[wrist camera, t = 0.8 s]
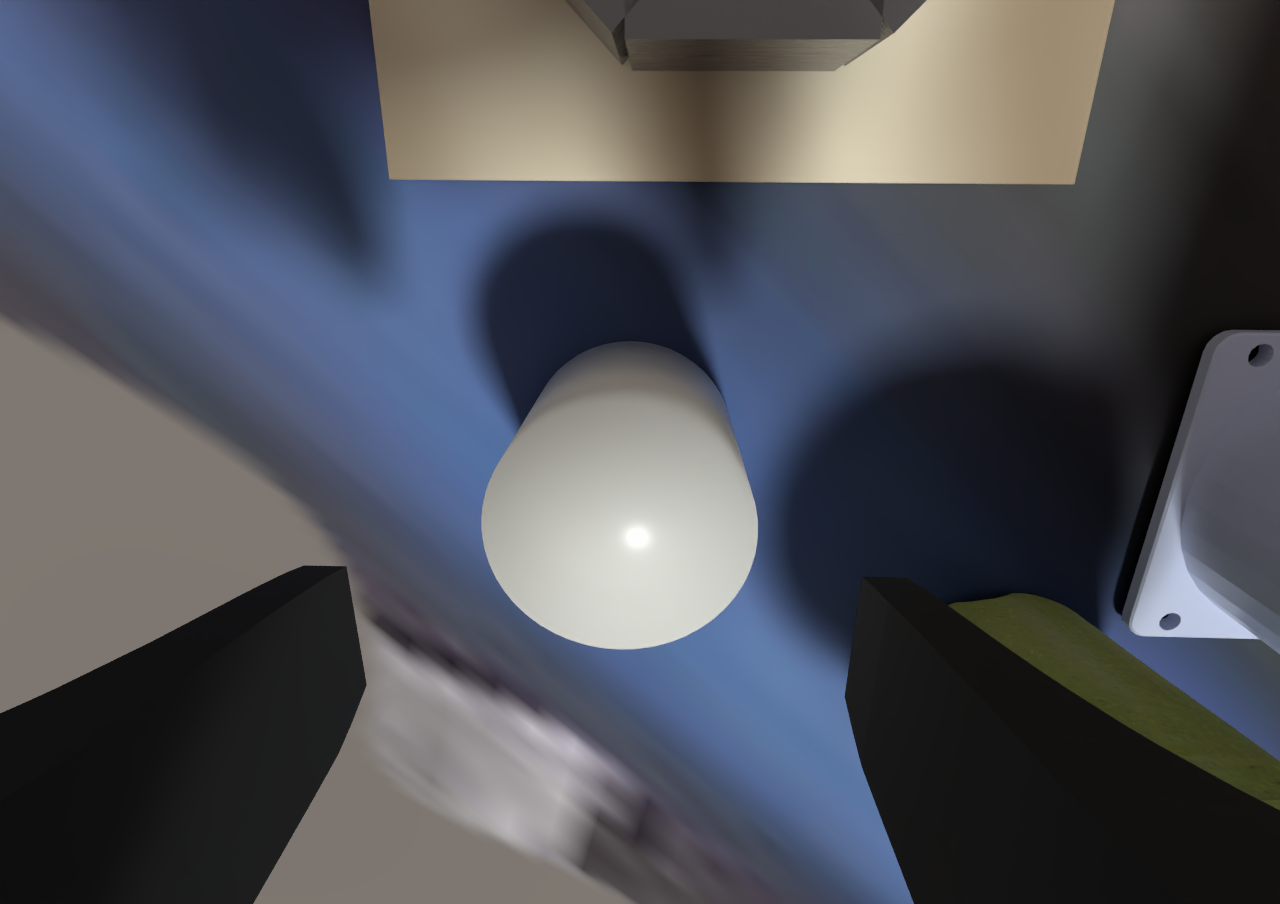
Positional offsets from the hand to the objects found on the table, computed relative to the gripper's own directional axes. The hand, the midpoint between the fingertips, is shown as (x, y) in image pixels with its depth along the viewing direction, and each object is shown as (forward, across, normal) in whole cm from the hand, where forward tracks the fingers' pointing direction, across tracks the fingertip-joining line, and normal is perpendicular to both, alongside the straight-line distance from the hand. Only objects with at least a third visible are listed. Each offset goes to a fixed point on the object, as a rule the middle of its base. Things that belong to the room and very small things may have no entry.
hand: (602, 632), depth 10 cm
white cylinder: (+8, 0, 0) cm, 8 cm away
